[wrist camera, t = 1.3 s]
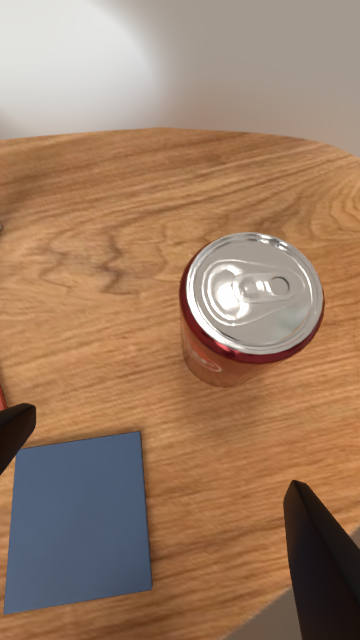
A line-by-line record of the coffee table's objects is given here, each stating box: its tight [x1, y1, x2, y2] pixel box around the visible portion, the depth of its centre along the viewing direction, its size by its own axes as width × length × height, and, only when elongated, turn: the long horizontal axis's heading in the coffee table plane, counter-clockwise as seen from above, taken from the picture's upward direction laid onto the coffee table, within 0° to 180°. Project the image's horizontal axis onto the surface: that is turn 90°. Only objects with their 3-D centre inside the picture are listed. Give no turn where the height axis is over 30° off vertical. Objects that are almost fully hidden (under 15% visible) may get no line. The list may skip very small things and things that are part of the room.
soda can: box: [179, 232, 325, 388], centre depth 18 cm, size 7×7×12 cm
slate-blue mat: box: [4, 431, 153, 615], centre depth 19 cm, size 10×10×1 cm
